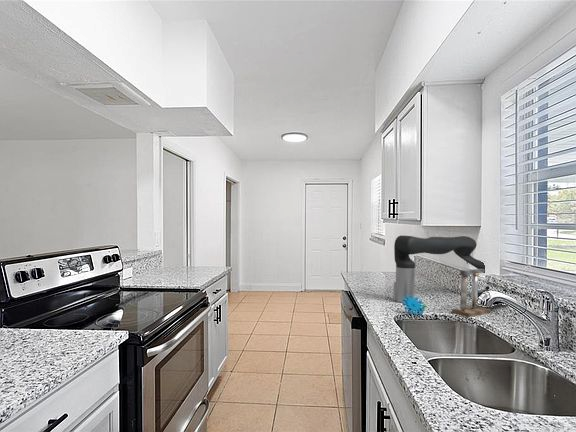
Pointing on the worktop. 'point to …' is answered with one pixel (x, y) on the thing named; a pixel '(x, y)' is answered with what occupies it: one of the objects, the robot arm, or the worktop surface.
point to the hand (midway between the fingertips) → (476, 295)
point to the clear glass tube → (474, 289)
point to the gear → (413, 305)
